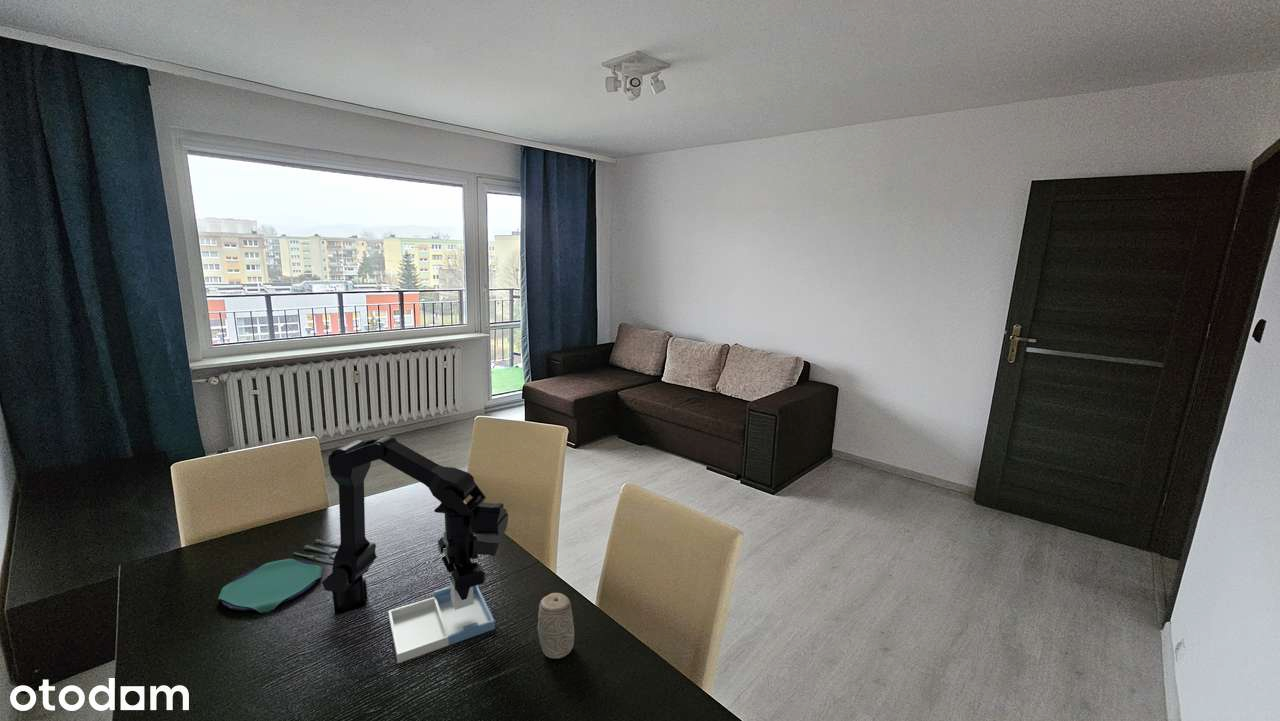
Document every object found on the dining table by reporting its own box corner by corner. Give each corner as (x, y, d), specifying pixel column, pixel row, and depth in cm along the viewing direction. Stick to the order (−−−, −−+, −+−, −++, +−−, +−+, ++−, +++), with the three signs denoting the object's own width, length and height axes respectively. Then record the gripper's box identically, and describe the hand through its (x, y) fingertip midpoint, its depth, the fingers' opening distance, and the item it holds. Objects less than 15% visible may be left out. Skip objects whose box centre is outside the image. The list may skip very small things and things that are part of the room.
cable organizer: (397, 665, 102) (396, 649, 101) (388, 618, 115) (387, 604, 114) (494, 630, 112) (494, 616, 111) (476, 591, 125) (475, 578, 124)
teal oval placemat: (199, 605, 118) (198, 596, 117) (313, 541, 146) (313, 534, 146) (264, 625, 112) (263, 615, 112) (370, 554, 141) (369, 547, 141)
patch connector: (455, 610, 112) (453, 574, 111) (451, 599, 116) (449, 565, 114) (473, 604, 114) (472, 569, 113) (469, 594, 118) (467, 560, 116)
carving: (541, 639, 110) (541, 589, 108) (576, 641, 110) (576, 591, 107) (534, 662, 104) (534, 609, 101) (571, 663, 103) (571, 611, 101)
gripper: (508, 540, 108) (510, 605, 111) (484, 504, 124) (486, 562, 127) (454, 554, 102) (457, 623, 105) (436, 515, 118) (439, 576, 121)
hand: (461, 593), depth 115 cm, fingers closed on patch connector, 4 cm apart
